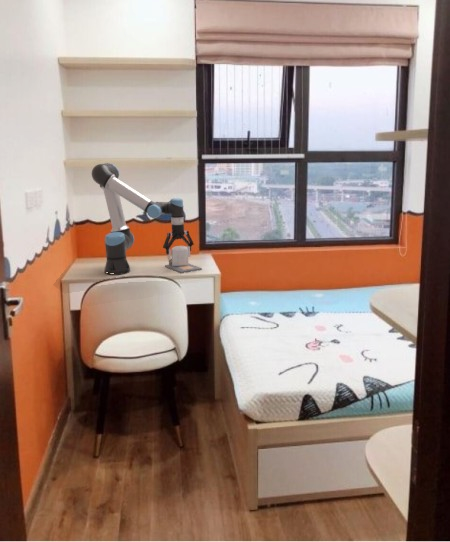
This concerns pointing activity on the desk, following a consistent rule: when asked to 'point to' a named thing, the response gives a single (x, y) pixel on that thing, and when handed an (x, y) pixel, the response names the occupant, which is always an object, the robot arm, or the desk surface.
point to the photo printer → (179, 256)
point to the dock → (183, 267)
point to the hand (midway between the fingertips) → (179, 258)
